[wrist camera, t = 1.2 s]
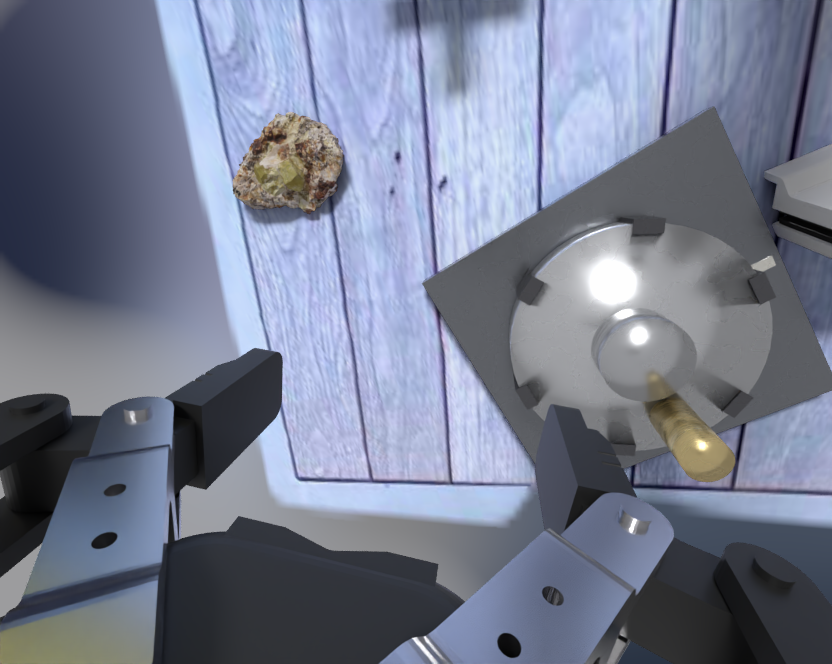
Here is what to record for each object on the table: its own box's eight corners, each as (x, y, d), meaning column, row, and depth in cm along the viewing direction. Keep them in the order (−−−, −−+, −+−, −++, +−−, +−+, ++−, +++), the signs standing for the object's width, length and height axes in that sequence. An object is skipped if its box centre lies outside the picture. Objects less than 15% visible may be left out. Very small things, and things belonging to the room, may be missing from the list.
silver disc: (466, 298, 35) (459, 330, 27) (693, 168, 29) (775, 157, 21) (566, 461, 38) (587, 537, 30) (788, 373, 33) (893, 435, 24)
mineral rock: (310, 80, 32) (341, 178, 31) (337, 106, 36) (365, 193, 36) (204, 141, 35) (231, 231, 35) (240, 158, 39) (265, 239, 39)
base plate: (703, 110, 30) (714, 105, 28) (824, 380, 34) (839, 388, 32) (424, 280, 37) (421, 283, 36) (552, 484, 41) (554, 495, 40)
